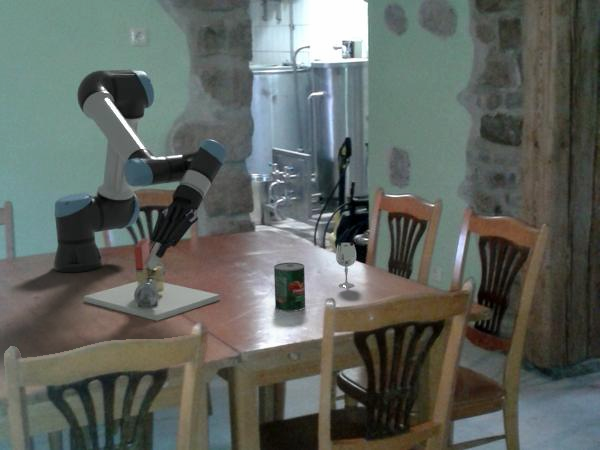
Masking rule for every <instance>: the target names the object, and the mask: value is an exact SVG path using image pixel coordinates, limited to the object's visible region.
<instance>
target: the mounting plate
mask: <svg viewBox="0 0 600 450" xmlns="http://www.w3.org/2000/svg"><path fill="white" fill-rule="evenodd" d="M136 288H137V281H134V282H131V283H128V284H127V283H126V284H123V285H119V286H115V287H112V288H108V289H105V290H102V291H98V292H94V293H90V294H87V295H84V296H83V301H84V302H85V303H89V304H93V305H96V306H100V307H104V308H108V309H112V310H114V311H119V312H121V313H122V312H123V313H127V314H130V315H135V316H138V317H141V318H144V319H148V320H149V319H150V320H152V321H153V320H154V321H157V322H158V321H160V320H161V321H162V320H164V319H166V318H170V317H172V316H175V315H178V314H182V313H185V312H188V311H191V310H193V309H196V308H201V307H202V306H206V305H208V304H212V303H215V302H218V301H220V294H217V293H213V292H209V291H204V290H200V289H196V288H190V287H186V286H185V287H184V286H182V285H176V284H174V283H173V284H172V283H167V282H164V290H163V291H161V292H158V302H159V303H158V306H149V307H138V303H137V302H136V300H135V298H134V293H135V290H136Z"/></svg>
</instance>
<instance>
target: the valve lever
mask: <svg viewBox="0 0 600 450" xmlns="http://www.w3.org/2000/svg"><path fill="white" fill-rule="evenodd" d="M149 252H150V244H149V238H140V240H139V241H138V242H137V244H135V246H134V262H135V271H136V270H137V272H143V271H144V269H145V268H146V265H145V264H144V263H145V261H146V259H147V258H148V256H149ZM137 272H136V273H137Z"/></svg>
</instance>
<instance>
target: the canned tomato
mask: <svg viewBox="0 0 600 450" xmlns="http://www.w3.org/2000/svg"><path fill="white" fill-rule="evenodd" d="M273 271H274V272H273V273H274V301H275V302H274V303H275V306H274V307H275V309H276V310H278V311H280V310H282V311H281V312H296V311H295V310H298V311H301V310H300V309H302V310H304V309H305V308H306V285H305V264H303V263H300V262H292V261H291V262H282V263H277V264H275V265H274V266H273ZM303 308H304V309H303Z"/></svg>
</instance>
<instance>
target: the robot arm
mask: <svg viewBox="0 0 600 450" xmlns="http://www.w3.org/2000/svg"><path fill="white" fill-rule="evenodd" d="M151 80H152V79H151V78H150V77H149V76H148V74H147V73H146V72H145V71H143V70H135V69H119V70H117V69H116V70H104V69H103V70H96V71H92V72H91V73H88V74H87V75H85V76H84V78H83V79H82V80H81V81H80V83H79V86H78V89H77V102H78V103H77V104H78V106H79V108H80V109H81V112H82V113H83V114H84V115H85V116H86V117H87V118H88V119H90V120H93V122H94V123H95V124H96V126H97V127H98V129H99V130H100V131H101V132H102V135H104V136H105V138H106V140H107V143H106V154H105V163H104V164H105V165H104V173H103V182H102V184H101V185H99V186H98V187H97V192H96V193H97V194H96V196H92V194H91V193H90V192H80V193H72V194H68V195H64V196H62V197H60V198H58V199H57V200H56V201H55V202H54V217H55V228H56V229H55V230H56V239H57V246H56V247H57V248H56V251H55V255H54V259H53V270H54V271H55V272H60V273H82V272H89V271H92V270H96V269H100V268H101V267H102V266H103V257H102V255H101V253H100V251H99V250H100V249H98V248H99V247H98V245H97V244H96V237H95V236H96V233H98V232H99V233H100V232H104V231H112V230H121V229H124V228H125V229H126V228H129V227H132V226H133V225H134V224H136V221H137V220H138V219H139V215H140V205H139V199H138V196H137V194H135V191H134V189H133V187H135V188H136V187H142V188H143V187H148V186H155V185H163V184H172V183H179V185H177V187H176V189H175V190H174V192H173V193H172V196H171V197H172V202H171V203H170V204H169V205H168V206H167V208H165V209H163V208H160V209H158V216H157V219H156V222H155V224H154V228H153V230H152V232H151V235H150V240H151V241H152V242H153V245H152V247H151V249H149V256H148V258H147V259H146V261H145V263H144V264H145V265H146V266H147V267H148V268H149V269H151V270H154V269H155V268H156V266H157V264H158V262H160V260H161V259H162V258H163V257H164V255H165V253H166V252H167V250H168V249H169V248H171V247H172V248H174V247H176V246H177V245H178V244H179V242H180V241H181V240H182V238H183V237H184V236H185V234H186V233H187V232H188V231H189V229H190V228H191V226H193V224H195V223H196V222H197V221H198V220H199V217H198V216H197V215H196V214H195V211H197V210H199V207H200V205H201V204H202V202H203V200H204V198H205V197H206V194H207V193H208V191H209V189H210V187H211V185H212V183H213V182H214V180H215V178H216V177H217V175H218V173H219V171H220V170H221V167H222V166H223V165H224V162H225V160H226V158H227V155H228V151H227V148H225V146H224V145H222V144H221V143H220V142H218V141H217V140H213V139H211V138H210V139H204V140H203V142H202V143H201V144H200V145H199V148H198V150H194V151H192V152H187V153H182V154H181V153H180V154H170V155H162V156H161V155H160V156H159V155H158V156H155V155H154V154H153V153H152V152H151V151H150V149H149V148H148V147H147V146H146V144H145V142H143V140H142V139H141V138H140V136H139V135H138V132H137V131H138V125H139V121H140V120H141V119H142V118H144V115H145V109H149V108H150V107H152V105H153V104H154V101H155V91H154V86H153V83H152V81H151Z"/></svg>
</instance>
